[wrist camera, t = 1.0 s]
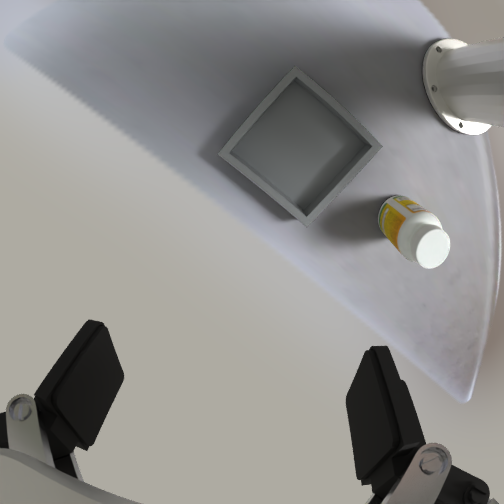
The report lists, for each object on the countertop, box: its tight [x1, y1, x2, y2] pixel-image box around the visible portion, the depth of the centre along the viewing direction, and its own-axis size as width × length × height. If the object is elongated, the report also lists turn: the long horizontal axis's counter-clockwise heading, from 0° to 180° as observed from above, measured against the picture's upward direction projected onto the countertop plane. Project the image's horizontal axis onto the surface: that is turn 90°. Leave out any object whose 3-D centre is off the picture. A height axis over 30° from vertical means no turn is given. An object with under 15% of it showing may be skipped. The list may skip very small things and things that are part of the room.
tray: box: [217, 66, 383, 227], centre depth 27 cm, size 12×12×3 cm
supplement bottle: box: [378, 195, 450, 269], centre depth 27 cm, size 5×5×10 cm
